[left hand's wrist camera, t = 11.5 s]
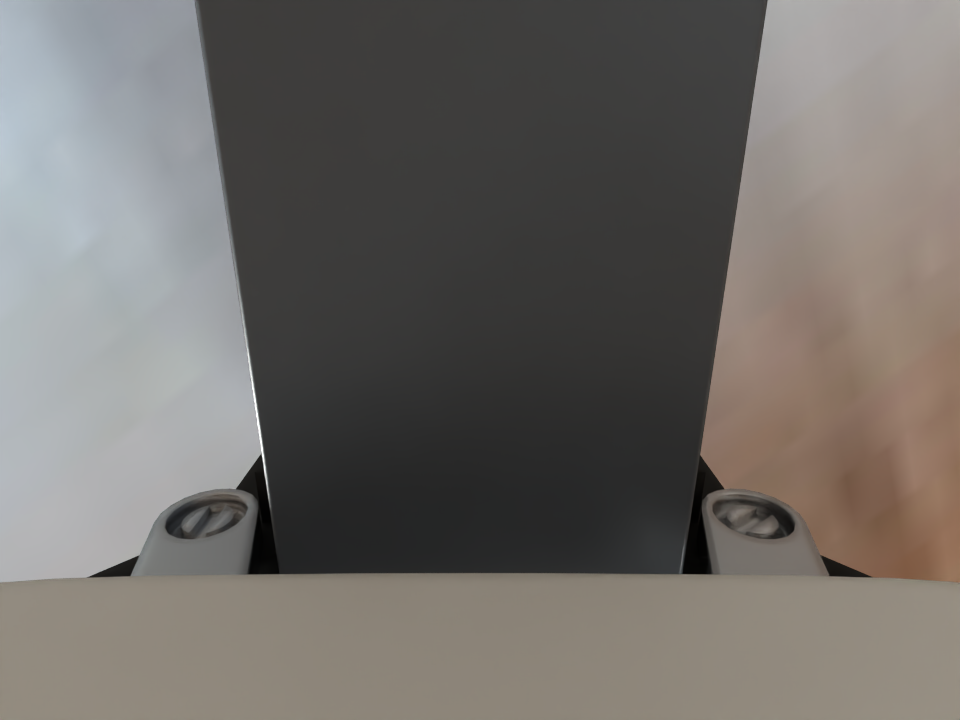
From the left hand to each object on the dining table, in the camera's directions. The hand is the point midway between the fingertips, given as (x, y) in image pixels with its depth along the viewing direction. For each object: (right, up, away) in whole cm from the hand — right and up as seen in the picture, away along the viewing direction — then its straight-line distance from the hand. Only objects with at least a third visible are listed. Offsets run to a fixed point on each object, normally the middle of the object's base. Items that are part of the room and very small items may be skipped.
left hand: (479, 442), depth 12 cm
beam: (0, +23, -5) cm, 24 cm away
